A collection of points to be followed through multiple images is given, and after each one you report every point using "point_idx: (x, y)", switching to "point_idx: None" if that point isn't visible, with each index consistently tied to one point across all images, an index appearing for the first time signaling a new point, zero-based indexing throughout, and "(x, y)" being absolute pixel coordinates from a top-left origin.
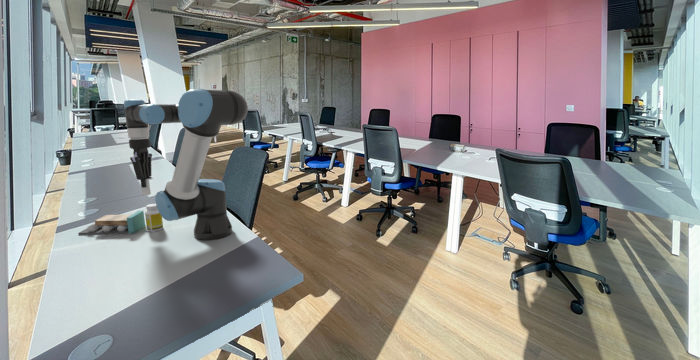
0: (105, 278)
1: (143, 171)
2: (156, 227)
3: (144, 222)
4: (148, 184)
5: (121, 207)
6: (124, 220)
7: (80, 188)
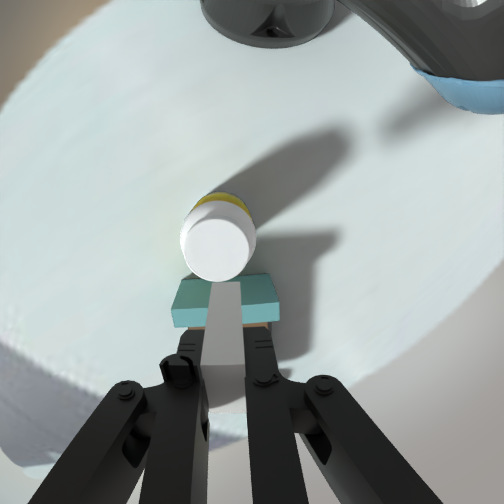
0: (498, 186)
1: (296, 459)
2: (243, 203)
3: (182, 285)
4: (225, 327)
5: (61, 407)
6: (267, 327)
7: (35, 471)
